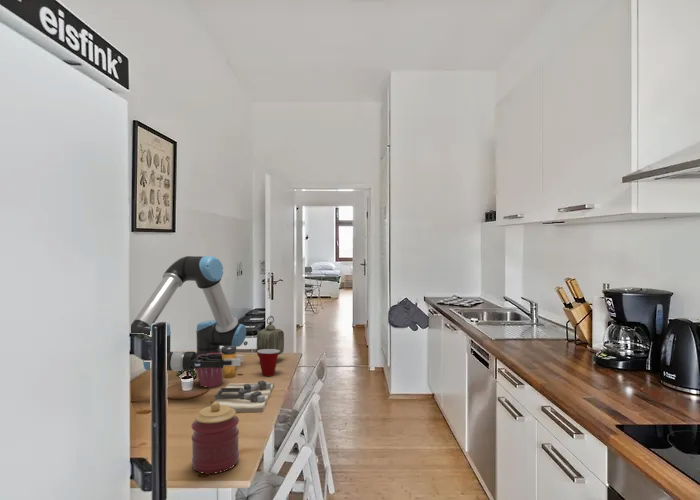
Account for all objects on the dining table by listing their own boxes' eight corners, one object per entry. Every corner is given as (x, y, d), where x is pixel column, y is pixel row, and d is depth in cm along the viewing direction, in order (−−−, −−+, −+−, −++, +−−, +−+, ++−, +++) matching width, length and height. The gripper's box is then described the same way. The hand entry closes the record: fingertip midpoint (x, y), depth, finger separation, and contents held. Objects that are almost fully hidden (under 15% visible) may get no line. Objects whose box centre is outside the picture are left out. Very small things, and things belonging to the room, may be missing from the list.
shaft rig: (227, 387, 190) (227, 376, 190) (273, 386, 190) (273, 376, 190) (207, 413, 160) (207, 401, 160) (262, 411, 160) (262, 400, 160)
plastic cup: (284, 372, 211) (284, 348, 211) (271, 379, 201) (271, 353, 201) (266, 370, 215) (266, 346, 215) (252, 376, 206) (252, 351, 205)
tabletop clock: (270, 358, 238) (270, 314, 238) (285, 359, 235) (284, 314, 235) (256, 365, 225) (256, 318, 225) (271, 366, 222) (271, 318, 222)
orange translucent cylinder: (223, 374, 177) (223, 345, 177) (237, 374, 178) (237, 345, 178) (220, 378, 172) (219, 348, 172) (234, 378, 172) (234, 348, 172)
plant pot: (191, 390, 185) (191, 361, 185) (196, 381, 199) (196, 353, 199) (226, 388, 188) (225, 359, 188) (228, 378, 202) (228, 351, 202)
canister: (213, 480, 113) (212, 414, 113) (181, 467, 120) (181, 405, 120) (248, 459, 124) (248, 399, 124) (218, 448, 131) (217, 391, 131)
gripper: (192, 364, 183) (246, 363, 184) (176, 376, 165) (236, 375, 165) (192, 346, 183) (246, 346, 184) (176, 357, 165) (236, 356, 165)
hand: (241, 360), depth 175 cm, fingers closed on orange translucent cylinder, 5 cm apart
